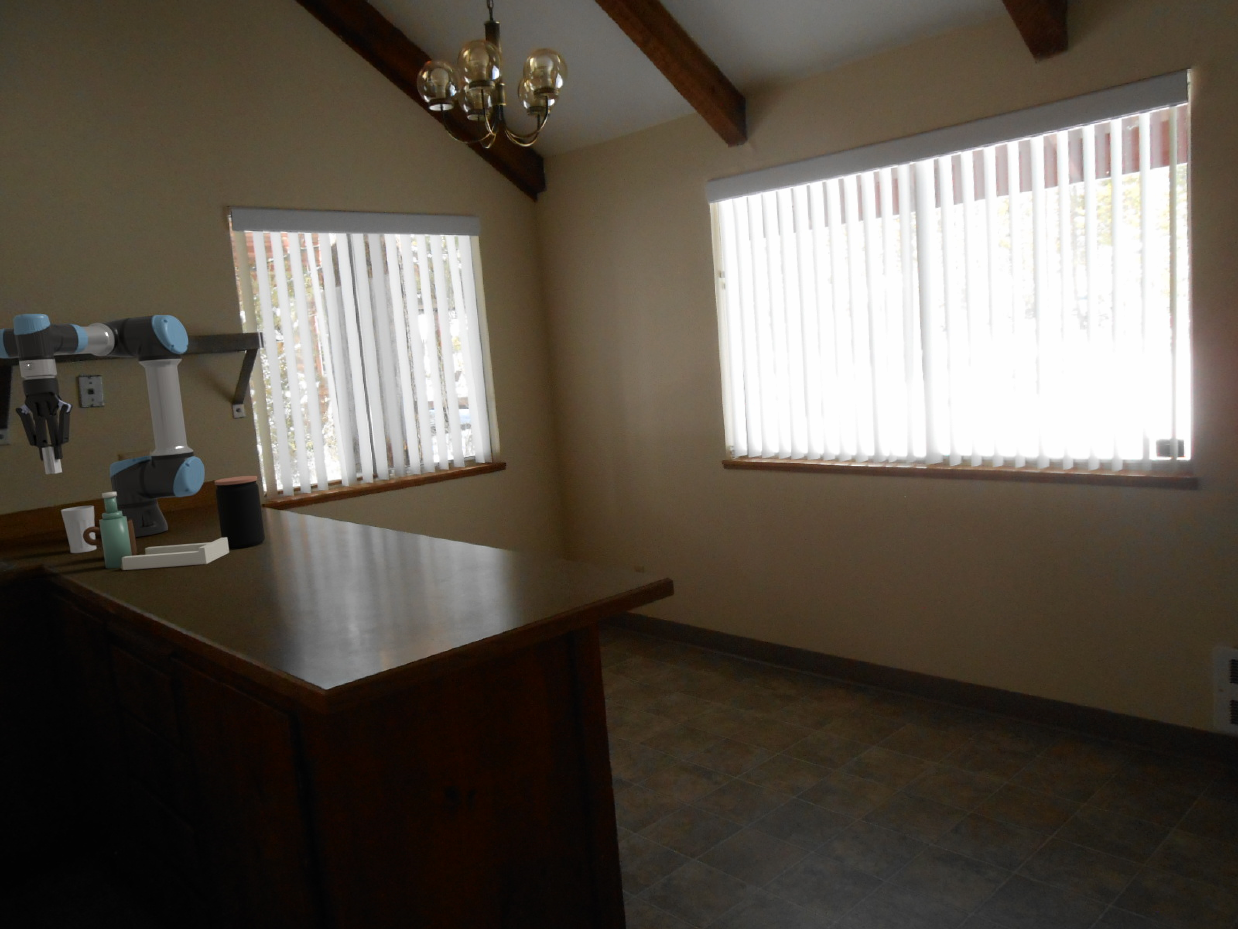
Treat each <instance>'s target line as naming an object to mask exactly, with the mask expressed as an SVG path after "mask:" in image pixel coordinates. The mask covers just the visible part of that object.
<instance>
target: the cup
mask: <svg viewBox="0 0 1238 929" xmlns="http://www.w3.org/2000/svg"><path fill="white" fill-rule="evenodd" d="M60 512H61V516H62V520H63V523H64V527H65V531H66V536H67V540H68V544H69V550H70V553H71V554H80V553H85V552H86V553H87V552H91V551H95V550H97V549H98V548H97V546H92V545H89V544H87V543H86V542H85V541H84V539H83V533H84V531H85V530H86V529H87V528H89V527H93V526H94V527H96V526H95V506H94V505H83V506H82V505H81V506H75V507H69V508H63V509H60ZM89 535H90V537H91V538H92V539H96V533H93V532H91V533H90V534H89Z"/></svg>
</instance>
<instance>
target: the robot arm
mask: <svg viewBox="0 0 1238 929" xmlns="http://www.w3.org/2000/svg"><path fill="white" fill-rule="evenodd" d="M12 321H13V327H10V328H9V327H5V328H2V329H0V359H16V358H18V362H19V363H18V364H19V368H20V369H19V370H20V375H21V376H20V377H21V378H24V379H23V380H22V381H21V383H22V384H21V385H22V390H23V391H22V392H23V394H24V396H25V399H24V404H23V405H22V406H20V407H16V408H15V409H14V410H15V412H16V414H17V415H18V416H19V418H20V421H21V424H22V427H23V428H24V431H25V434H26V438H27V441H28V444H29V446H32V447H33V446H34V447H36V448H38V452H39V457H40V461H41V462H42V461H43V464H44V465H43V466H44V472H45V475H51V474H55V475H56V474H59V473H60V474H61V473H63V469H62V463H61V460H62V459H63V457H64V456H63V455H64V454H63V450H62V447H63V445H64V444H66V443H67V444H68V443H69V442H70V422H71V421H70V420H71V412H72V410H73V404H72V403H67V402H65V401H64V400H62V397H61V395H60V386H59V385H60V384H59V380H58V378H57V377H56V376H57V375H58V372H57V365H56V358H55V356H61V355H62V356H65V355H66V356H67V355H78V354H79V355H82V354H83V355H84V354H91V355H93V356H97V357H116V358H119V357H120V358H137V361H138V364H140V365H141V366H142V367H143V368H144V369H145V376H146V377H145V378H146V385H147V386H146V387H147V392H148V393H147V394H148V399H149V407H150V408H149V409H150V415H151V424H152V430H153V431H152V432H153V438H154V445H155V449H154V450H153V451H152V452H151V453H150V454H149V455H144V456H143V455H142V456H138V457H134V458H128V459H123V460H118V461H115V462H113V463H111V464H110V466H109V474H110V476H109V479H110V482H111V484H110V485H111V490H112V491H111V492H116V493H117V496H116V503H117V510H118V511H122V516H126V518H127V519H131V520H132V523H133V527H134V534H135V538H138V537H144V536H145V537H146V536H151V535H155V534H160V533H164V532H167V531H168V529H169V528H168V522H167V520H166V517H165V516H164V515H163V513H162V511H161V510H162V509H160V506H159V502H158V499H163V498H183V497H189V496H194V495H196V494H197V493H198V492H199V491H200V490H201V488H202V486H203V485H204V481H205V476H206V475H205V471H206V470H205V466H204V463H203V462H202V460H201V459H200V458H199V457H197V456H195V453H194V452H195V451H194V449H192V448H191V447H189V445H188V442H187V435H186V434H187V433H186V426H185V420H184V419H185V417H184V411H183V404H182V396H181V394H182V393H181V386H180V380H179V379H180V378H179V372H178V365H179V364H180V363H181V362H182V361H183V360H182V355H183V354H184V353H185V352H186V351H187V350H188V347H189V337H188V334H187V331H186V329H185V326H184V325H183V323H181V321H180V320H179V319H178V318H177V317H175V316H173V315H170V314H156V315H155V314H154V315H145V316H136V317H125V318H119V319H114V320H110V321H103V322H93V323H91V324H89V325H88V326H81V325H77V324H72V323H70V322H69V323H51V321H50V318H49V316H48V315H47V314H43V313H26V314H25V313H23V314H18V315H15V316H14V317H13V320H12ZM58 410H59V414H58ZM47 429H48V431H47ZM48 435H49V440H50V444H49V440H48Z"/></svg>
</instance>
